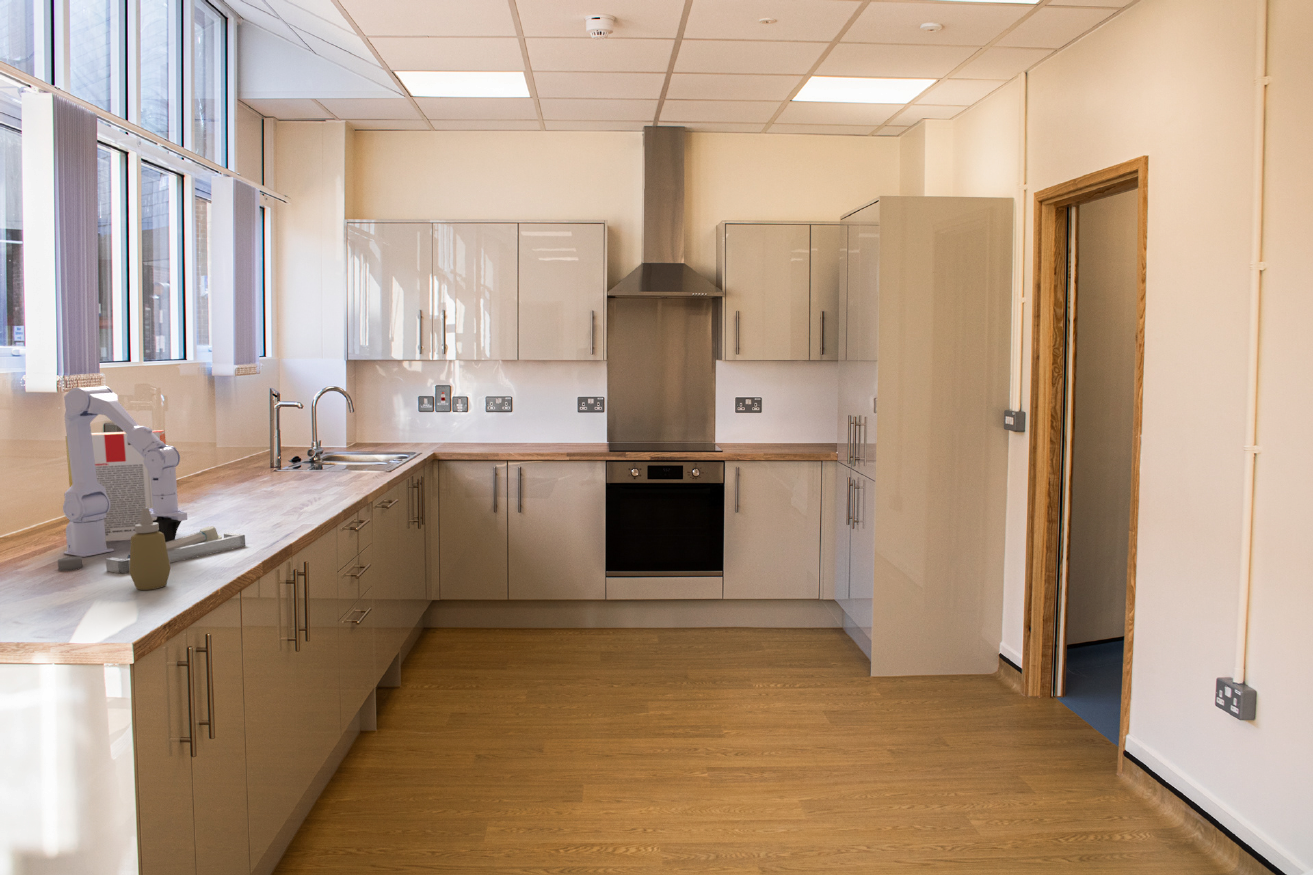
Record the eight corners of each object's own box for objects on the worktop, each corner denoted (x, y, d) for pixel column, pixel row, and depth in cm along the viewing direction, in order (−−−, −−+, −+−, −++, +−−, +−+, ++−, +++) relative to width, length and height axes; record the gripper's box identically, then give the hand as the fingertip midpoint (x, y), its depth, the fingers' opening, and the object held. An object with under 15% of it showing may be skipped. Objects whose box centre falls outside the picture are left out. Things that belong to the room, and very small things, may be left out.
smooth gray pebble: (54, 569, 220) (53, 559, 220) (76, 565, 224) (75, 555, 224) (65, 572, 217) (64, 562, 217) (86, 567, 222) (86, 558, 221)
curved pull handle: (106, 570, 218) (105, 558, 217) (229, 543, 246) (229, 532, 246) (122, 573, 214) (121, 561, 214) (245, 545, 243) (244, 534, 243)
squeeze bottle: (128, 593, 196) (121, 512, 195) (133, 585, 204) (127, 506, 202) (170, 589, 200) (164, 509, 198) (173, 580, 207) (167, 503, 205)
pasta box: (171, 531, 265) (164, 430, 262) (167, 536, 257) (159, 432, 254) (82, 538, 257) (73, 433, 254) (74, 543, 250) (65, 436, 247)
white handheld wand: (123, 552, 220) (209, 520, 243) (129, 578, 222) (214, 543, 244) (137, 554, 218) (223, 521, 240) (143, 580, 220) (227, 545, 242)
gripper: (132, 494, 231) (136, 546, 232) (167, 498, 224) (170, 551, 225) (158, 490, 237) (162, 541, 238) (193, 494, 230) (197, 546, 231)
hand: (168, 546), depth 232 cm, fingers closed
